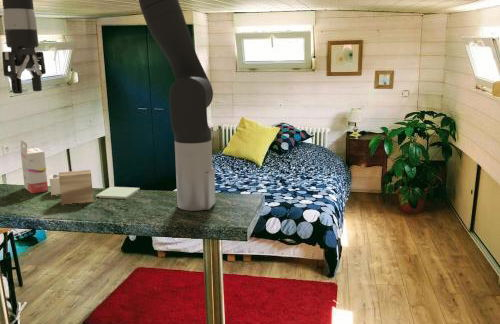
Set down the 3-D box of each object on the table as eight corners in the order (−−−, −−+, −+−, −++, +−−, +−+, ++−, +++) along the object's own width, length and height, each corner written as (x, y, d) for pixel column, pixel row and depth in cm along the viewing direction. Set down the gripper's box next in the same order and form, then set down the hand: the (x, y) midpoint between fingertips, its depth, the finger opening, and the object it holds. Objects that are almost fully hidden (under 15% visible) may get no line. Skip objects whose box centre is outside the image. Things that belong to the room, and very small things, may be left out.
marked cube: (70, 194, 139) (68, 176, 137) (51, 196, 137) (49, 178, 136) (69, 189, 143) (68, 172, 142) (51, 191, 141) (49, 174, 140)
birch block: (93, 201, 131) (91, 173, 129) (61, 205, 128) (58, 176, 126) (92, 197, 135) (90, 169, 133) (61, 201, 132) (58, 172, 130)
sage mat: (139, 189, 142) (139, 187, 142) (126, 198, 133) (126, 196, 133) (110, 188, 143) (110, 186, 143) (95, 197, 135) (95, 195, 135)
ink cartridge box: (49, 191, 142) (44, 141, 138) (31, 194, 139) (25, 143, 135) (41, 185, 148) (36, 137, 145) (24, 187, 145) (18, 139, 142)
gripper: (16, 26, 117) (24, 94, 121) (50, 29, 131) (56, 90, 134) (-12, 27, 118) (-3, 94, 122) (24, 29, 132) (31, 90, 136)
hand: (28, 92), depth 128 cm, fingers open, 8 cm apart
